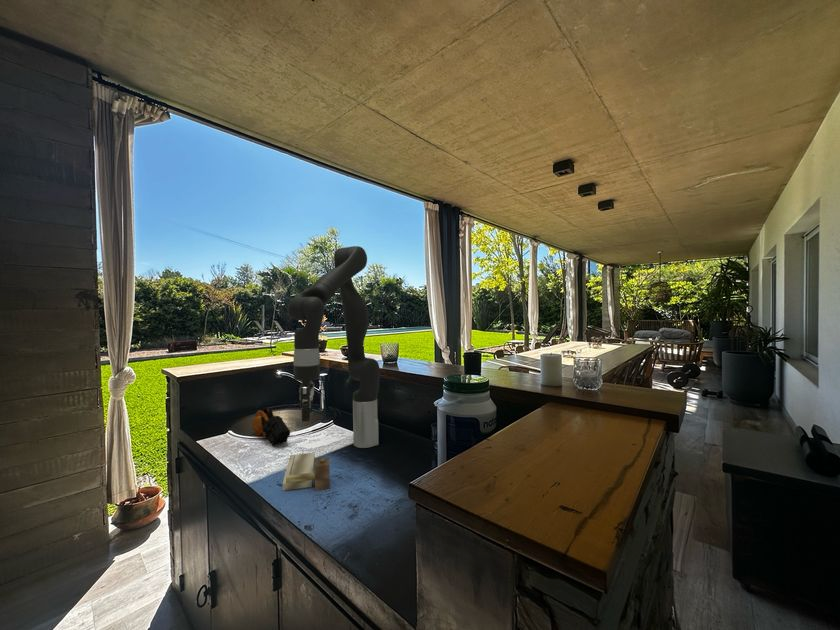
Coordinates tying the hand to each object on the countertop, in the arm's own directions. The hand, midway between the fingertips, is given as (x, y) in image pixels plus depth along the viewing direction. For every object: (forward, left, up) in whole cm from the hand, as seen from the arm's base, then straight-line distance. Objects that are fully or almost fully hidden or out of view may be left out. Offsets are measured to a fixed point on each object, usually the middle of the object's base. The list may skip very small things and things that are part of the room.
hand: (307, 416), depth 103 cm
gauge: (0, +4, -20) cm, 20 cm away
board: (+3, -6, -20) cm, 21 cm away
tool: (+16, -38, -20) cm, 46 cm away
